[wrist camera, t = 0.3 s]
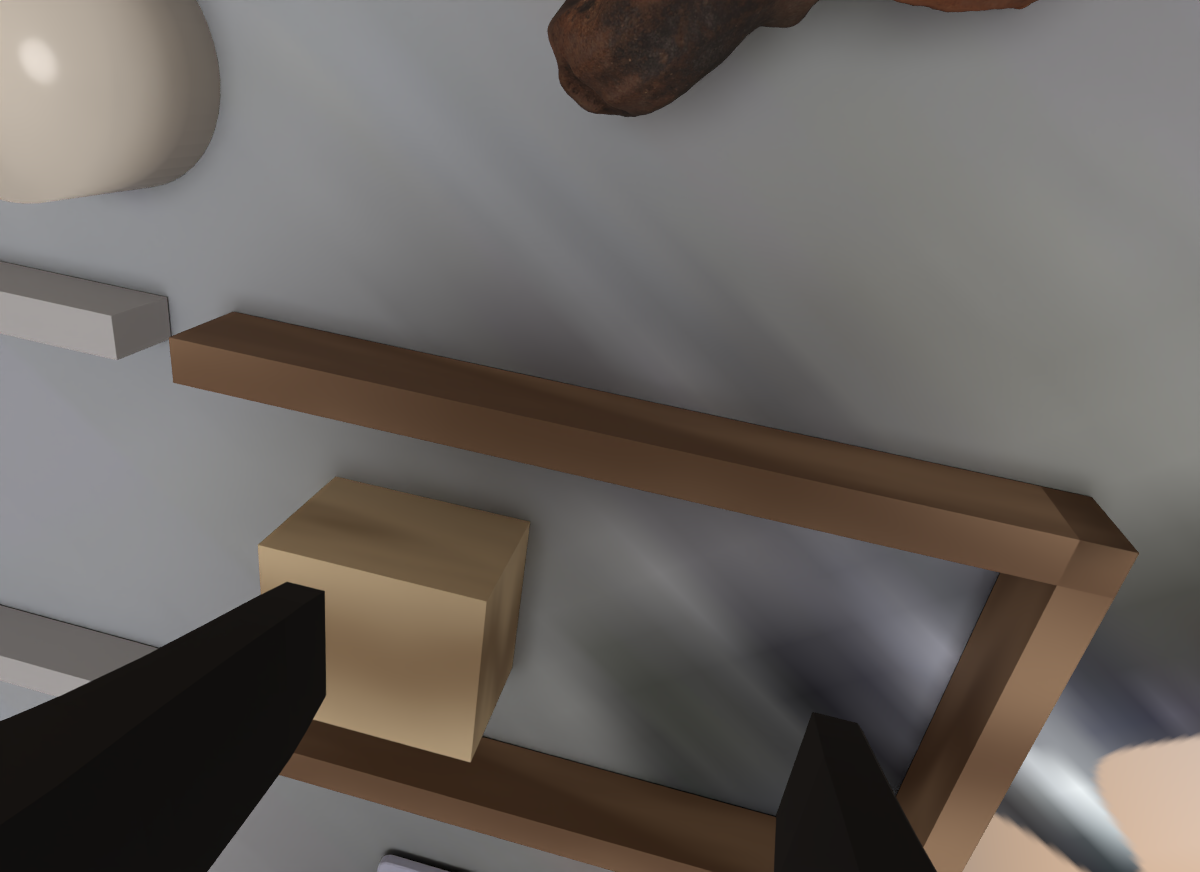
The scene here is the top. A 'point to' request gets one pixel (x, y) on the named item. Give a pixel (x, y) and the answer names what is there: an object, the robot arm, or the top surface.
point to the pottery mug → (670, 44)
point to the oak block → (406, 609)
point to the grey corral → (97, 327)
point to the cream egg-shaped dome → (102, 95)
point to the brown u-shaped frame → (724, 480)
